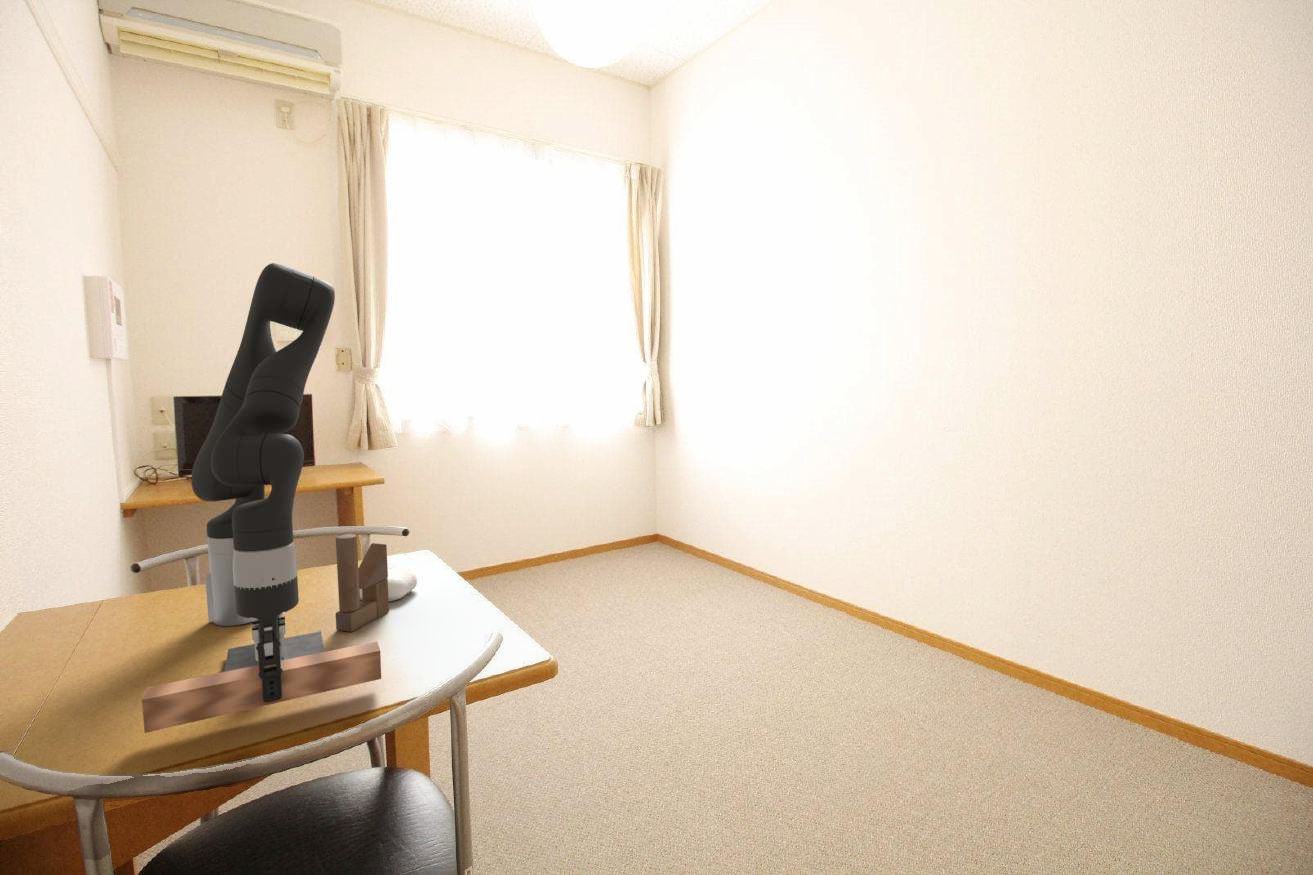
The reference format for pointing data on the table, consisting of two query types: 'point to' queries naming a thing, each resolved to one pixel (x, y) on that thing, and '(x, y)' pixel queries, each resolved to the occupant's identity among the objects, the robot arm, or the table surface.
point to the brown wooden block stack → (360, 583)
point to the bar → (257, 686)
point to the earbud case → (399, 583)
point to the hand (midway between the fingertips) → (272, 692)
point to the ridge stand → (293, 649)
